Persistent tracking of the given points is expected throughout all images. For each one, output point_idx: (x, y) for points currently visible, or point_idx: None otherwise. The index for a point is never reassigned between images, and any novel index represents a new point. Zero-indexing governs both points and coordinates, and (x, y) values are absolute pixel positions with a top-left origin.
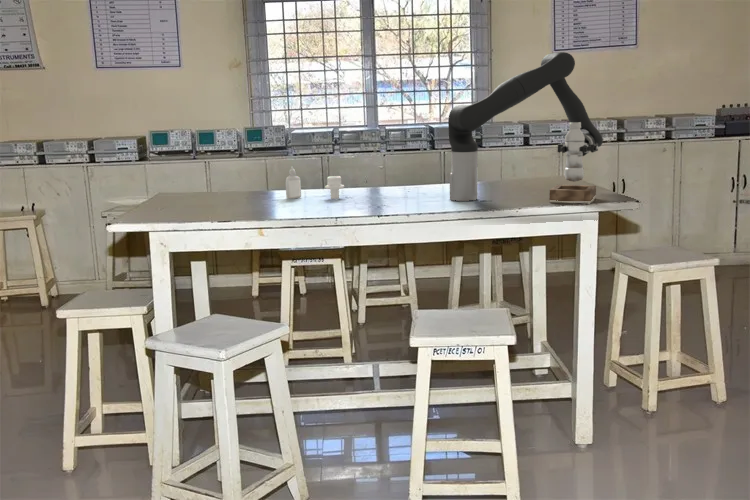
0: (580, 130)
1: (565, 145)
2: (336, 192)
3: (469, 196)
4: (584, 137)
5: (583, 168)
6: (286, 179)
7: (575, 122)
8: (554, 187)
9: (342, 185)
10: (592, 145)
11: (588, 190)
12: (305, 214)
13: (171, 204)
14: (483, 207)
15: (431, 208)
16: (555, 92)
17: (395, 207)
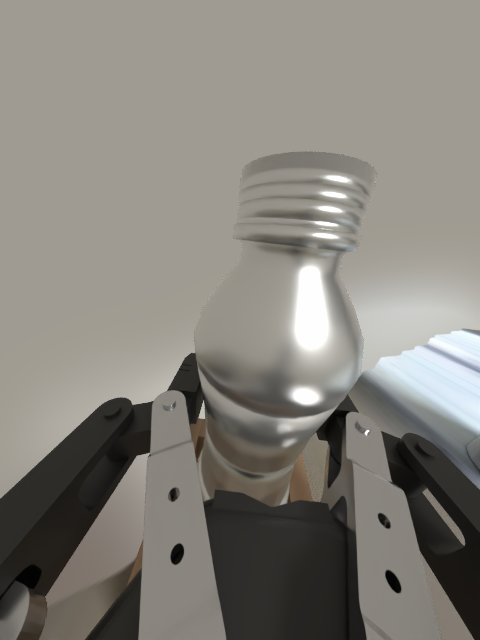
0: (235, 265)
1: (345, 416)
2: None
3: (474, 441)
4: (197, 322)
5: (198, 462)
6: None
7: (334, 161)
8: (306, 497)
9: None
10: (123, 399)
11: (190, 425)
12: (464, 338)
13: None
14: (364, 382)
15: (415, 369)
16: None
17: (463, 372)
